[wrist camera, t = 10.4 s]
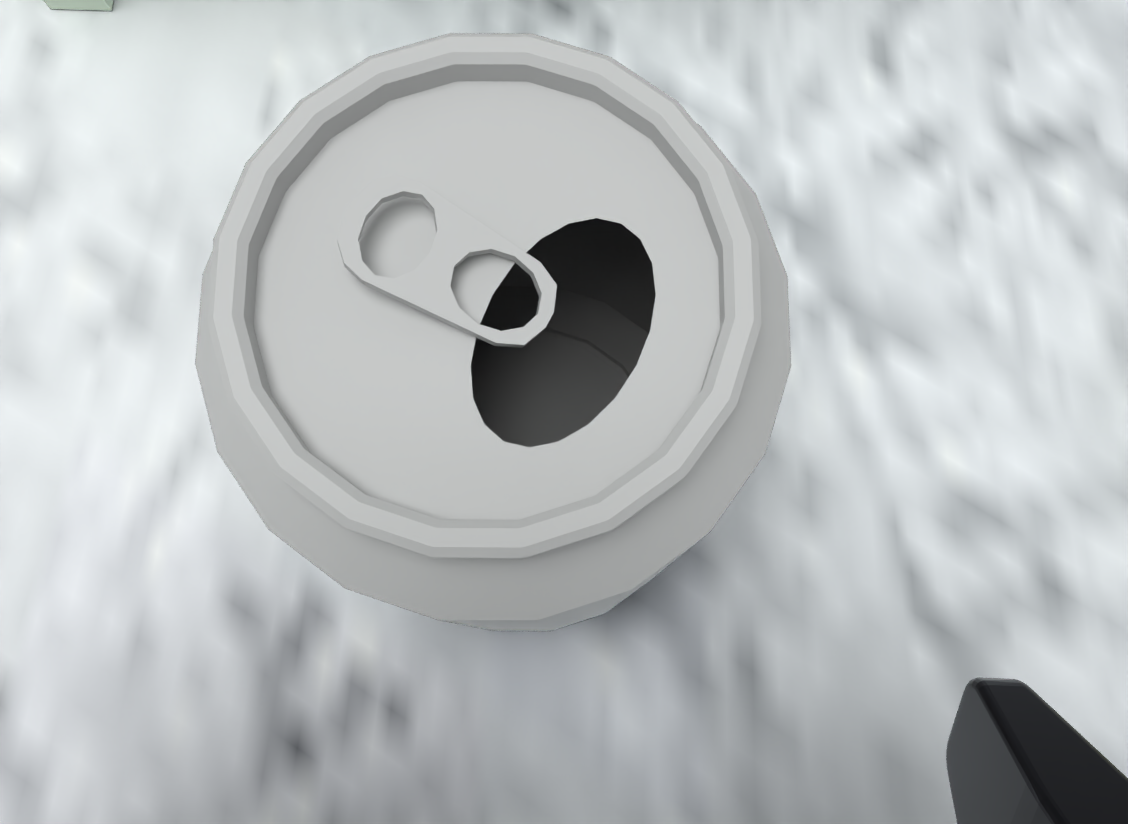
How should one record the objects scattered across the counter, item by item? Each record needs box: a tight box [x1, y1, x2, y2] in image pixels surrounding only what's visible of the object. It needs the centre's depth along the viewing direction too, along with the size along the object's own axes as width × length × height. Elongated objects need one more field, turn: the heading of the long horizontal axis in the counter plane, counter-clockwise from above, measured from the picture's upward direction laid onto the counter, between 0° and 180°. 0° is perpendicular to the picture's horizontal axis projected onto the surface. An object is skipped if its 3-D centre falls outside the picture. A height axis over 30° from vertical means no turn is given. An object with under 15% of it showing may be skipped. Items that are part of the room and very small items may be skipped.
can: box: [195, 33, 791, 631], centre depth 17 cm, size 8×8×12 cm
